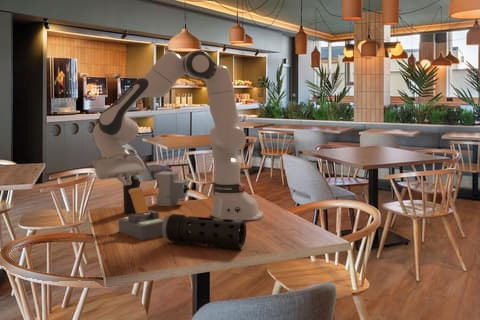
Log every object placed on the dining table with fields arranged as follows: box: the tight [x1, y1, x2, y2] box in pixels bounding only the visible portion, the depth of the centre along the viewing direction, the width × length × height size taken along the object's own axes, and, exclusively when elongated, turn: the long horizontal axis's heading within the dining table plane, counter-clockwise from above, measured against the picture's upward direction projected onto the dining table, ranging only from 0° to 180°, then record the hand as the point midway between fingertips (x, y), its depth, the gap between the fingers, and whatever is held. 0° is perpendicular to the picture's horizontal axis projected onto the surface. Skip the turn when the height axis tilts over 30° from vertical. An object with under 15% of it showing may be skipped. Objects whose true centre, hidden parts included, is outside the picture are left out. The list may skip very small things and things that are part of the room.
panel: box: [118, 209, 165, 241], centre depth 193 cm, size 16×12×8 cm
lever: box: [129, 186, 151, 219], centre depth 194 cm, size 2×5×12 cm, turn 131°
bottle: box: [122, 176, 140, 215], centre depth 225 cm, size 7×7×20 cm
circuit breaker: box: [156, 171, 190, 207], centre depth 241 cm, size 8×14×15 cm, turn 78°
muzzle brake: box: [162, 213, 247, 250], centre depth 177 cm, size 10×28×10 cm, turn 72°
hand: (127, 184), depth 199 cm, fingers closed
